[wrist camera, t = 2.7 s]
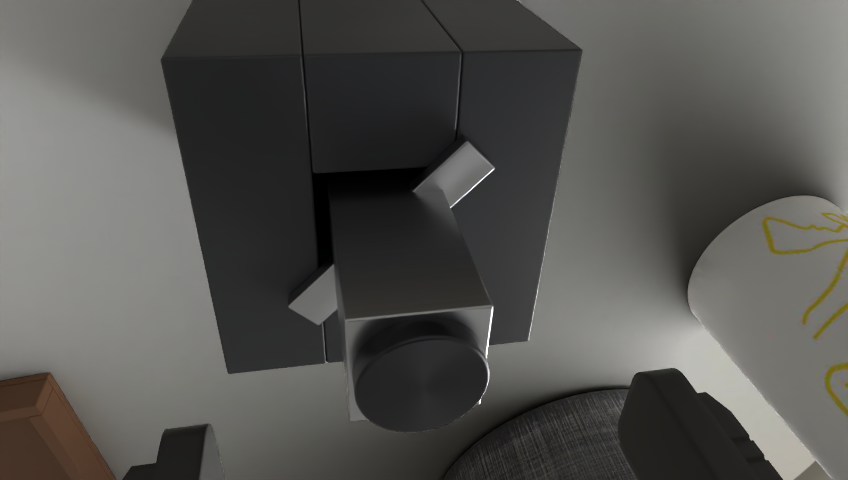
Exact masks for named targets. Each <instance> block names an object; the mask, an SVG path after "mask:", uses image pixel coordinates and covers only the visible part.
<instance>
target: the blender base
mask: <svg viewBox="0 0 848 480" xmlns="http://www.w3.org/2000/svg"><path fill="white" fill-rule="evenodd" d="M581 56H582V49H581V48H580V47H578V46H577V45H576V44H574V43H573V42H572V41H570V40H569V39H568V38H566V37H565V36H564V35H562V34H561V33H559V32H558V31H557V30H555V29H554V28H553V27H551V26H550V25H549V24H547V23H546V22H545V21H543V20H542V19H541V18H539V17H538V16H537V15H535V14H534V13H533V12H531V11H530V10H528V9H527V8H526V7H524V6H523V5H522V4H520V3H519V2H518V1H516V0H193V1H192V3H191V5H190V7H189V8H188V10H187V12H186V14H185V16H184V18H183V19H182V21H181V23H180V25H179V27H178V29H177V30H176V32H175V34H174V36H173V38H172V40H171V41H170V43H169V45H168V47H167V49H166V51H165V52H164V54H163V56H162V58H161V64H162V69H163V73H164V78H165V83H166V87H167V92H168V97H169V101H170V106H171V111H172V115H173V120H174V125H175V129H176V134H177V139H178V143H179V148H180V153H181V157H182V162H183V167H184V171H185V176H186V181H187V185H188V190H189V195H190V199H191V204H192V209H193V213H194V218H195V223H196V228H197V232H198V237H199V242H200V246H201V251H202V256H203V260H204V265H205V270H206V274H207V279H208V284H209V288H210V293H211V298H212V302H213V307H214V312H215V316H216V321H217V326H218V330H219V335H220V340H221V344H222V349H223V354H224V358H225V363H226V368H227V372H228V374H233V373H242V372H251V371H260V370H269V369H278V368H287V367H296V366H305V365H314V364H323V363H326V361H327V362H328V363H332V362H341V361H343V355H342V346H341V337H340V327H339V318H338V309H337V310H336V311H335V312H334V313H332V314H331V315H330V316H329V317H328V318H327V319H326V320H325V321H324V322H322V323H321V324H320V325H317V324H315V323H313V322H312V321H310V320H308V319H307V318H305V317H303V316H302V315H300V314H298V313H297V312H295V311H293V310H292V309H290V308H289V307H288V297H289V295H291V294H292V293H293V292H294V291H295V290H296V289H297V288H298V287H299V286H300V285H301V284H302V283H303V282H304V281H306V280H307V279H308V278H309V277H310V276H311V275H312V274H313V273H314V272H315V271H316V270H317V269H318V268H320V267H321V266H322V265H323V264H324V263H325V262H326V261H327V260H328V259H329V258H330V257H331V256H332V253H331V243H330V234H329V225H328V215H327V206H326V197H325V187H324V178H323V173H334V172H352V171H370V170H388V169H405V168H423V167H428V166H429V165H430V164H431V163H432V162H433V161H434V160H436V159H437V158H438V157H439V156H440V155H441V154H442V153H443V152H444V151H445V150H446V149H447V148H448V147H450V146H451V145H452V144H453V143H454V142H455V141H456V140H457V139H458V138H459V137H460V136H461V135H463V134H464V135H466V136H467V137H468V138H469V139H470V140H471V141H472V142H473V143H474V144H475V145H476V146H477V147H478V148H479V149H480V150H481V151H482V152H483V153H484V154H485V155H486V156H487V157H488V158H489V159H490V160H491V162H492V163H493V165H494V167H495V169H494V170H493V171H492V172H491V173H490V174H488V175H487V176H486V177H485V178H484V179H483V180H482V181H481V182H479V183H478V184H477V185H476V186H475V187H474V188H473V189H472V190H470V191H469V192H468V193H467V194H466V195H465V196H464V197H463V198H461V199H460V200H459V201H458V202H457V203H456V204H455V205H454V206H453V207H451V210H452V212H453V215H454V217H455V219H456V222H457V224H458V226H459V228H460V231H461V233H462V235H463V238H464V240H465V242H466V245H467V247H468V249H469V251H470V254H471V256H472V258H473V261H474V263H475V265H476V268H477V270H478V272H479V274H480V277H481V279H482V281H483V284H484V286H485V288H486V291H487V293H488V295H489V297H490V300H491V302H492V304H493V312H492V320H491V327H490V335H489V342H488V345H496V344H505V343H514V342H523V341H528V340H529V337H530V331H531V326H532V320H533V315H534V310H535V304H536V299H537V293H538V288H539V283H540V277H541V272H542V267H543V261H544V256H545V250H546V245H547V240H548V234H549V229H550V223H551V218H552V213H553V207H554V202H555V197H556V191H557V186H558V180H559V175H560V170H561V164H562V159H563V153H564V148H565V143H566V137H567V132H568V126H569V121H570V116H571V110H572V105H573V100H574V94H575V89H576V83H577V78H578V73H579V67H580V62H581Z"/></svg>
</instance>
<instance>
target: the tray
mask: <svg viewBox="0 0 848 480" xmlns="http://www.w3.org/2000/svg"><path fill="white" fill-rule="evenodd" d="M0 480H116V479H115V477H114V476H113V474H112V473H111V471H110V469H109V468H108V466H107V464H106V463H105V461H104V460H103V458H102V456H101V455H100V453H99V451H98V450H97V448H96V447H95V445H94V443H93V442H92V440H91V439H90V437H89V435H88V434H87V432H86V430H85V429H84V427H83V426H82V424H81V422H80V421H79V419H78V417H77V416H76V414H75V413H74V411H73V409H72V408H71V406H70V404H69V403H68V401H67V400H66V398H65V396H64V395H63V393H62V392H61V390H60V388H59V387H58V385H57V383H56V382H55V380H54V379H53V377H52V375H51V374H50V373H45V374H39V375H33V376H27V377H21V378H16V379H10V380H4V381H0Z"/></svg>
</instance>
